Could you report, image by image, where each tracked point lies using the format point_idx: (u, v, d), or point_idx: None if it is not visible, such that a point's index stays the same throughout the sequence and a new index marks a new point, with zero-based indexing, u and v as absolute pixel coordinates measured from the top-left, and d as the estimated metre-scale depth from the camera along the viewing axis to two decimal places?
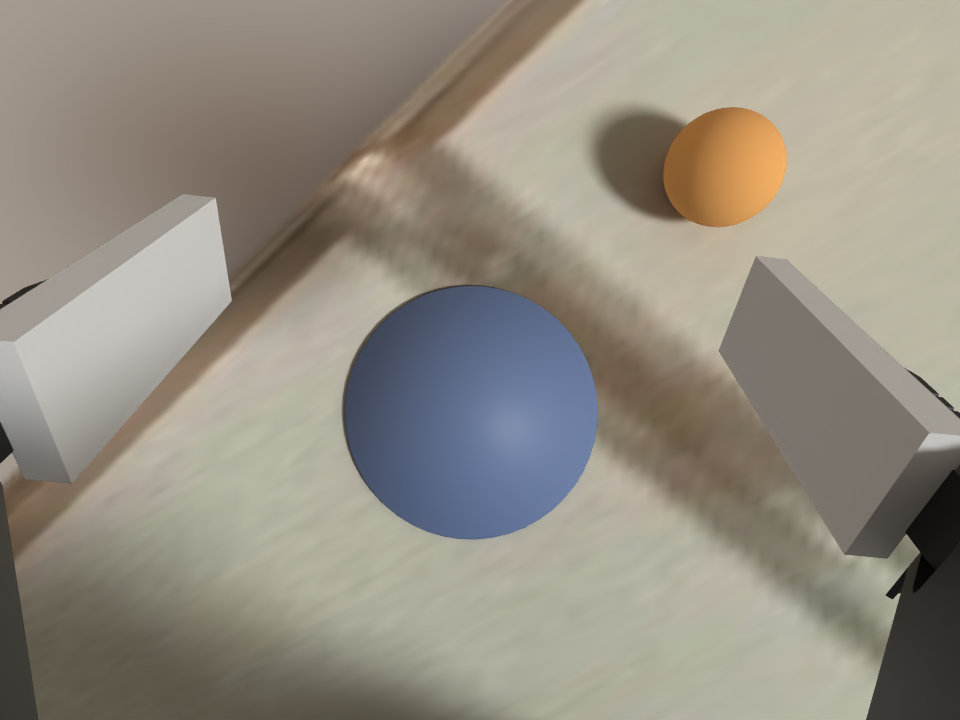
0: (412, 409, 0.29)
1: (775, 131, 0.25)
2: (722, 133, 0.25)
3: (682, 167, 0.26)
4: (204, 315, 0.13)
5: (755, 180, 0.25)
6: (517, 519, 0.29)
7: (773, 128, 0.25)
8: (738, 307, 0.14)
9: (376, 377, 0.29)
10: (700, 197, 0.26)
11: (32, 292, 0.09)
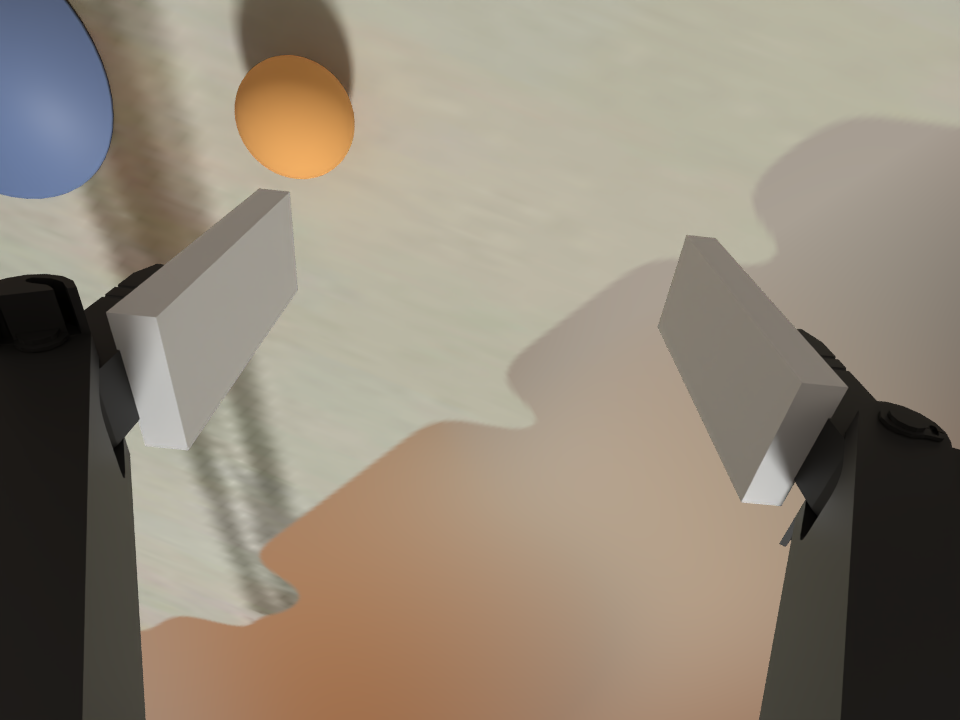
0: None
1: (318, 140, 0.26)
2: (269, 97, 0.25)
3: (241, 85, 0.25)
4: (278, 302, 0.14)
5: (267, 156, 0.26)
6: None
7: (319, 137, 0.26)
8: (672, 284, 0.15)
9: None
10: (236, 121, 0.26)
11: (156, 275, 0.10)
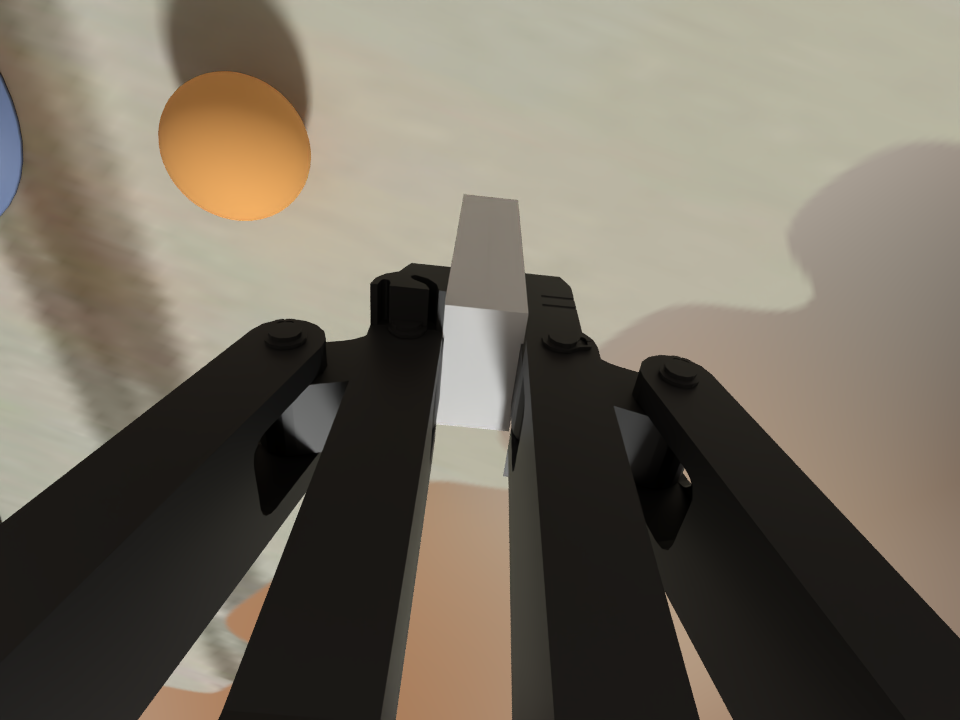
0: None
1: (262, 177, 0.21)
2: (196, 125, 0.20)
3: (164, 109, 0.20)
4: None
5: (199, 196, 0.21)
6: None
7: (263, 173, 0.21)
8: None
9: None
10: (161, 153, 0.21)
11: (453, 272, 0.11)
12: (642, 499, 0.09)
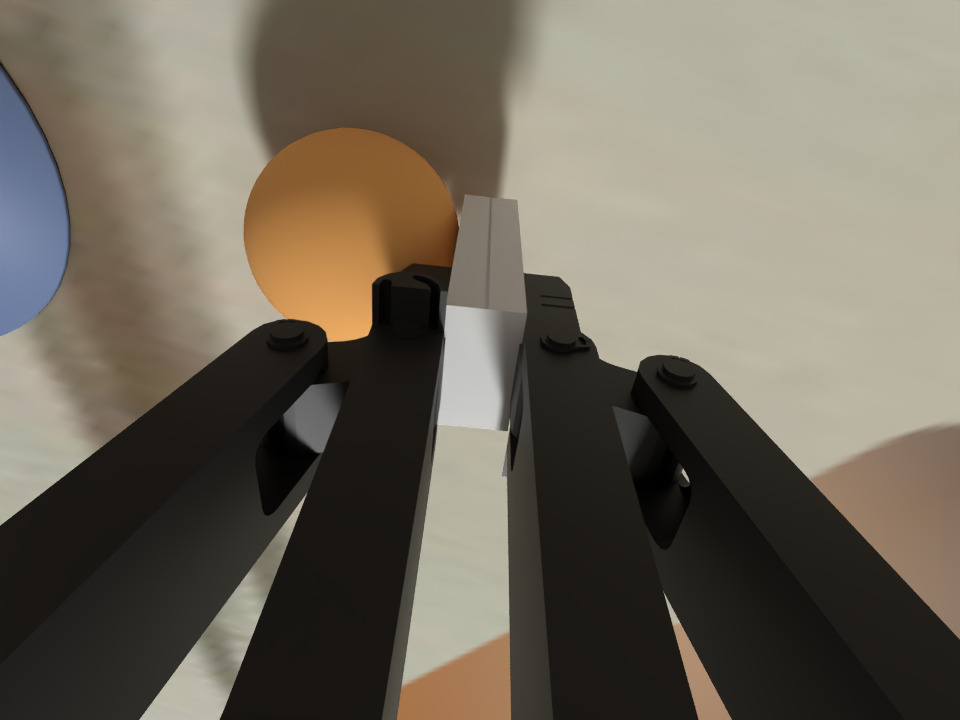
0: None
1: None
2: (288, 217, 0.12)
3: None
4: None
5: (287, 314, 0.14)
6: None
7: None
8: None
9: None
10: None
11: (454, 272, 0.11)
12: (640, 499, 0.09)
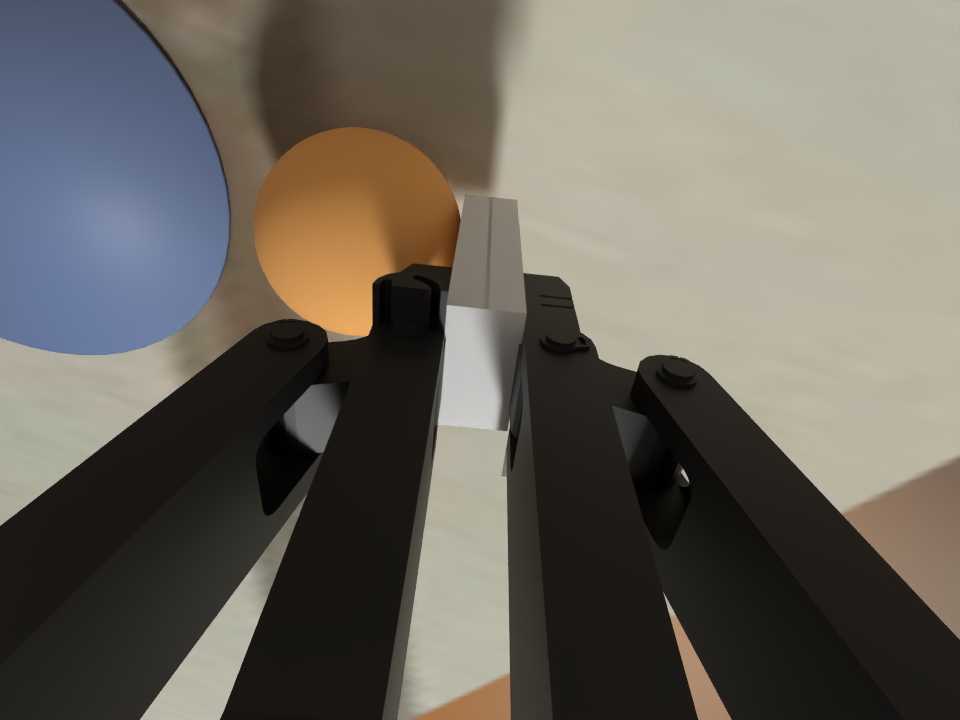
0: None
1: (297, 281, 0.13)
2: (261, 190, 0.14)
3: None
4: None
5: None
6: (1, 326, 0.20)
7: (298, 275, 0.13)
8: None
9: None
10: None
11: (455, 272, 0.11)
12: (640, 499, 0.09)
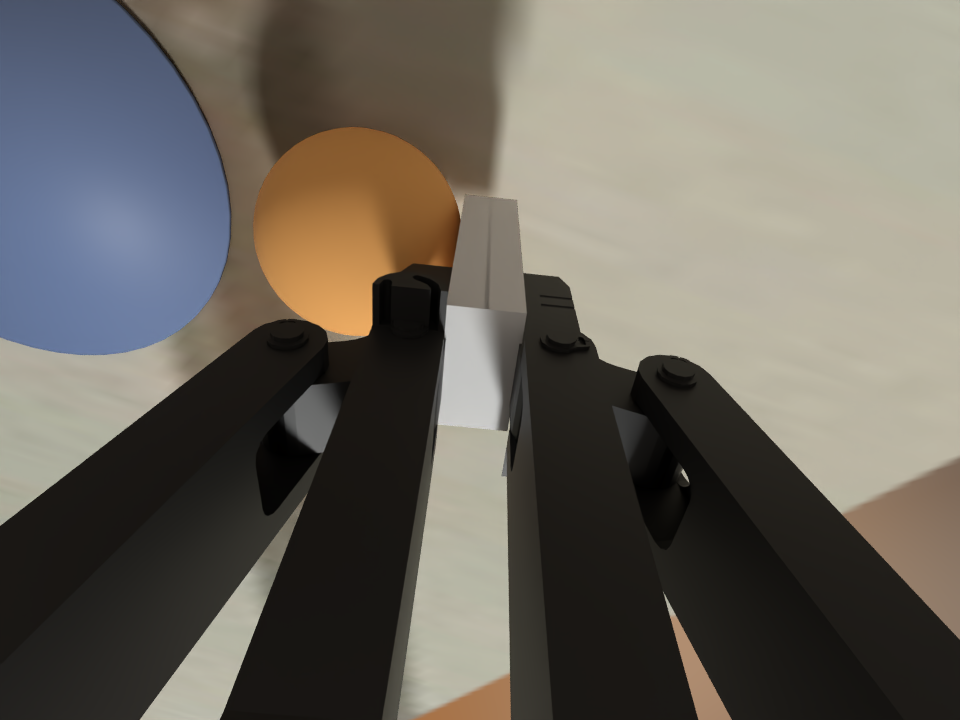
0: None
1: (298, 281, 0.13)
2: (261, 191, 0.14)
3: None
4: None
5: None
6: (1, 326, 0.20)
7: (298, 276, 0.13)
8: None
9: None
10: None
11: (454, 272, 0.11)
12: (640, 498, 0.09)
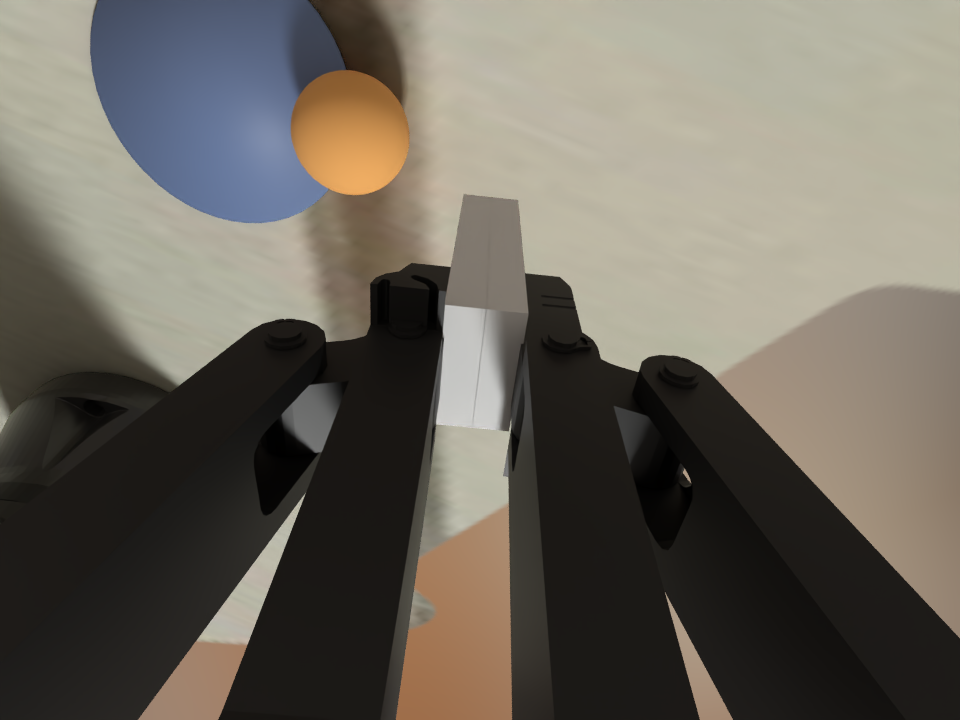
0: (173, 44, 0.27)
1: None
2: None
3: None
4: None
5: None
6: (199, 202, 0.32)
7: None
8: None
9: None
10: None
11: (453, 272, 0.11)
12: (642, 499, 0.09)
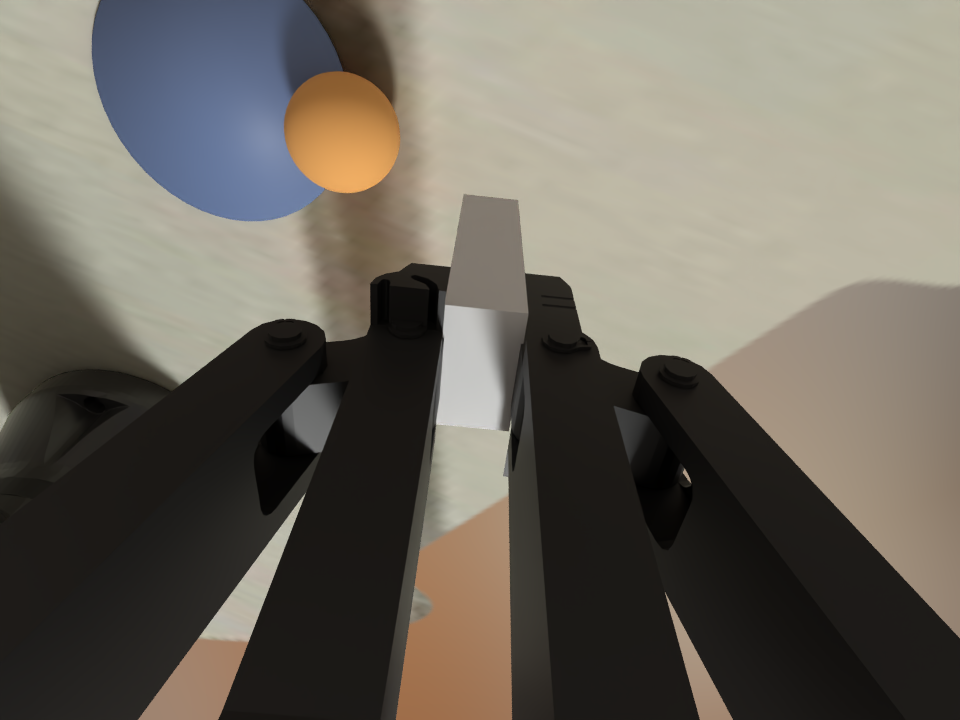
0: (173, 45, 0.28)
1: None
2: None
3: None
4: None
5: None
6: (199, 200, 0.32)
7: None
8: None
9: None
10: None
11: (453, 272, 0.11)
12: (642, 499, 0.09)
